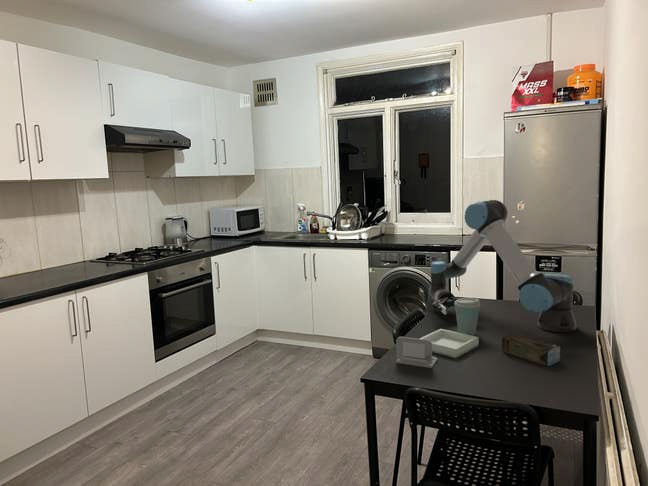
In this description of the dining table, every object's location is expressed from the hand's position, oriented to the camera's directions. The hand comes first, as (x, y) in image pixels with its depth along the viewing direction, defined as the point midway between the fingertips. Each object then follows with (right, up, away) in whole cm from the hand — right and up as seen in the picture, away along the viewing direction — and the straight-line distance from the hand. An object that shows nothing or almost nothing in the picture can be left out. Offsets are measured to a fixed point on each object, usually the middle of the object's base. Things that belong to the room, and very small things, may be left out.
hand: (460, 310), depth 214 cm
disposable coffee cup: (+1, -9, -5) cm, 11 cm away
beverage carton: (+17, -13, -32) cm, 38 cm away
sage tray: (-10, -12, -19) cm, 25 cm away
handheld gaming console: (-25, -15, -32) cm, 43 cm away
